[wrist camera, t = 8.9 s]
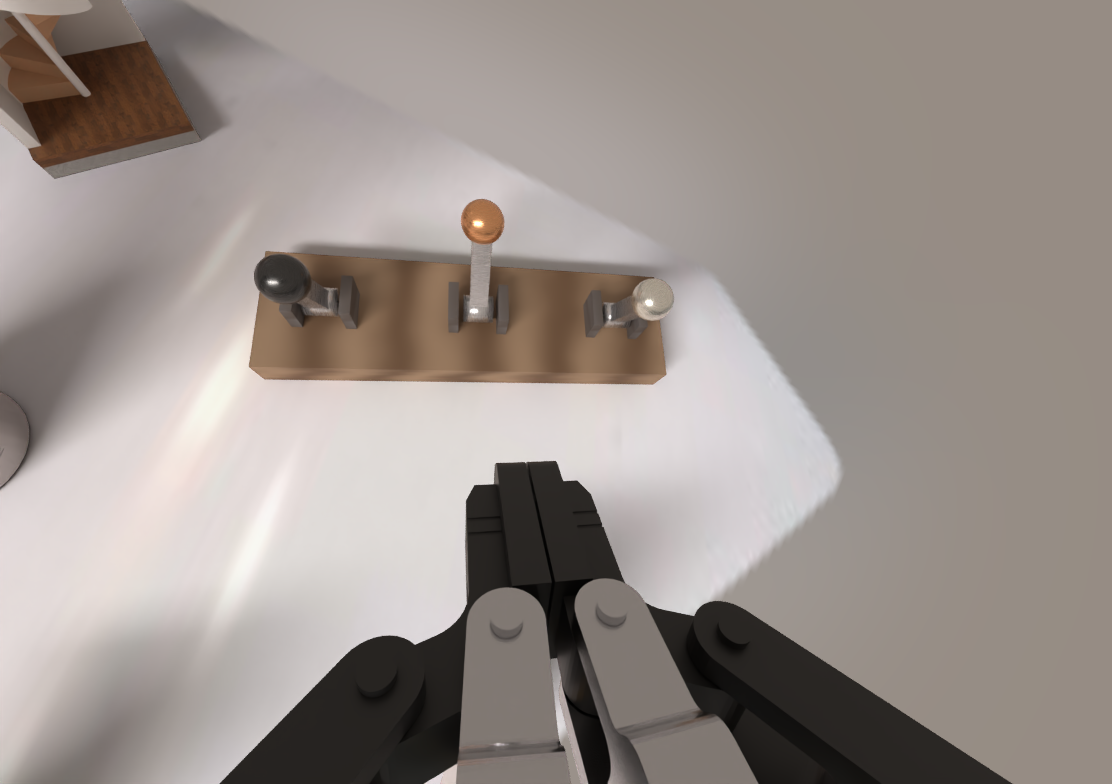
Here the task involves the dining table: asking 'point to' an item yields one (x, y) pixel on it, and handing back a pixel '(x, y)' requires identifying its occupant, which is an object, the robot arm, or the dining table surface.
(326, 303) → the black lever
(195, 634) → the dining table surface
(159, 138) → the display case
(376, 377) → the switch panel
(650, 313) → the cream lever
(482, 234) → the orange lever
